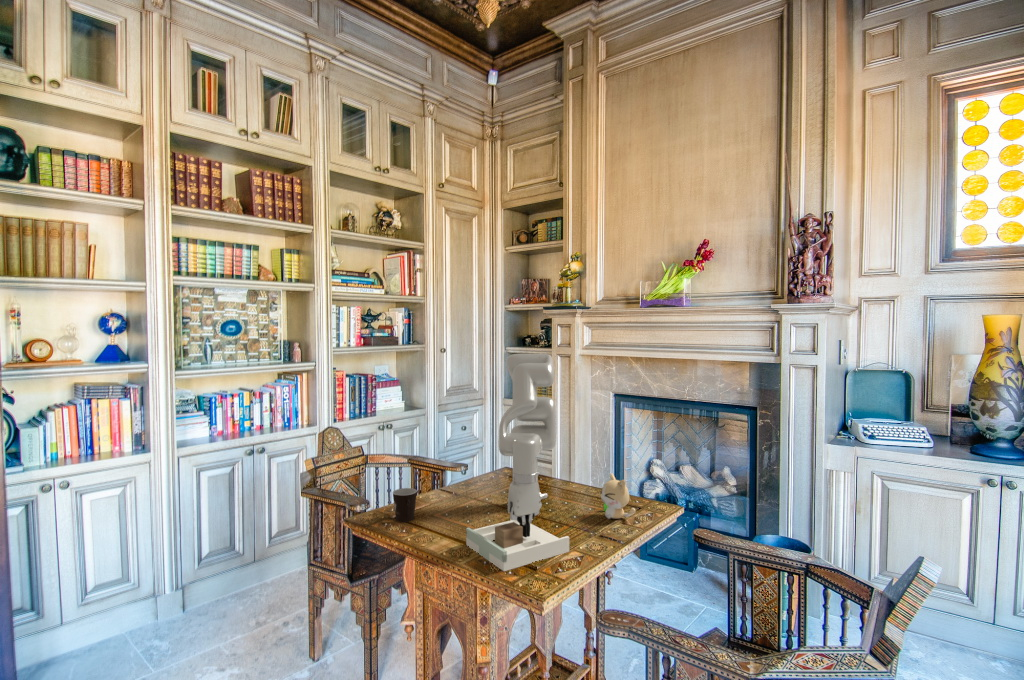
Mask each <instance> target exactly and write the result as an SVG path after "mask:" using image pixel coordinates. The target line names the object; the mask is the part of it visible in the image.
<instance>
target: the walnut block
mask: <svg viewBox="0 0 1024 680" xmlns="http://www.w3.org/2000/svg"><path fill="white" fill-rule="evenodd" d="M494 542H495V543H496V544H498V545H499V546H501V547H503V548H507V547H511V546H514V545H517V544H521V543H523V527H522V526H520V525H518V524H516V523H514V522H512V523H508V524H504V525H500V526H496V527H495V541H494Z"/></svg>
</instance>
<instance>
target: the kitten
mask: <svg viewBox="0 0 1024 680" xmlns="http://www.w3.org/2000/svg"><path fill="white" fill-rule="evenodd" d="M600 497H601V500H602V502H603V512H604V511H605V514H604V516H605V518H607V519H608V520H610V519H613V520H615V519H618V520H619V519H622V518H628V517H631V516H633V515H634V514H636V508H634V507H631V508H630V510H629V511H628V512H625V511H624V509H623V508H624V507H626V506H627V504H629V502H630V492H629V488H628V487H627V485H626V480H625V479H622V480H619V479H616V477H615V475H614V473H613V472H611V473H610V475H609V480H608V481H606V482H605V483H604V484H603V486H602V487H601V490H600Z"/></svg>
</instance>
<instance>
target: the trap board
mask: <svg viewBox="0 0 1024 680" xmlns="http://www.w3.org/2000/svg"><path fill="white" fill-rule="evenodd" d="M512 522H514V523H516V524H518V525H520V523H519V522H518V521H515V520H511V519H510V520H507V521H503V522H499V523H495V524H490V525H487V526H482V527H479V528H474V529H473V528H471V527H466V529H465V530H466V532H465V534H466V537H465V539H466V546H467V547H468V546H469V547H468V548H470V549H471V550H472V549H473V551H474V552H475V551H476V552H475V553H477V552H478V553H479V554H478V553H477V554H478V555H480V556H481V557H482V556H483V557H482V558H483V559H485V560H486V561H488V562H490V563H491V564H492V563H493V565H494V566H496V567H497V568H498V569H500V570H501V571H503V572H506V571H510V570H514V569H517V568H520V567H524V566H526V565H529V564H532V562H533V563H536V562H535V561H537V562H540V561H543V560H546V559H550V558H553V557H555V556H559V555H563V554H566V553H569V552H570V536H568V535H566V536H562V537H558V536H556V535H554V534H552V533H550V532H548V531H546V530H544V529H542V528H540V527H538V526H537V525H535V524H532V523H531V524H530V536H529V537H523V543H521V544H517V545H514V546H511V547H507V548H503V547H501V546H499V545H498V544H496V543H495V541H493V540H495V527H496V526H500V525H504V524H508V523H512ZM542 559H543V560H542ZM539 560H540V561H539Z"/></svg>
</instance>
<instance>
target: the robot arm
mask: <svg viewBox="0 0 1024 680" xmlns="http://www.w3.org/2000/svg"><path fill="white" fill-rule="evenodd" d="M506 368H507V371H508V374H509V376H510V378H511V381H512V402H511V403H512V404H511V405H510V407H509V408H508V409H507V410H506V411H505V413H504V414H503V415H502V417H501V419H500V421H499V422H500V423H499V427H498V451H499V453H500V454H501V455H502V456H504V457H512V481H511V482H510V483H509V486H508V487H509V488H508V495H507V497H508V498H507V513H509V520H510V521H511V520H515V521H518V522H519V523H520V526H522V527H523V537H529V536H530V524H532V522H533V519H534V518H535V517H536V516H538V515H539V514H540V510H541V508H542V506H543V504H542V503H543V502H541V500H544V499H547V498H548V497H549V495H548V493H546V492H544V493H541V492H540V491H541V490H540V485H539V481H538V477H539V475H540V472H539V471H538V469H539V468H538V459H537V457H538V456H539V454H540V453H541V451H542V450H543V451H545V450H546V451H548V450H550V451H551V450H552V449H554V448H555V447H556V444H557V443H556V442H557V426H556V425H557V421H556V420H557V419H556V418H557V415H556V414H557V411H556V403H555V401H554V399H553V398H552V397H551V396H550V397H548V396H538V390H537V389H538V388H541V387H542V388H543V387H545V388H546V387H547V388H548V387H552V386H553V384H554V382H555V381H554V379H555V368H554V360H553V357H552V355H550V354H548V353H513V354H510V355H509V356H507V358H506ZM515 419H516V420H517V421H520V422H526V423H528V422H532V423H533V422H539V423H543V424H517V425H515V426H513V427H512V429H511V431H510V432H508V428H509V425H510V424H511V422H512V421H514V420H515Z"/></svg>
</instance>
